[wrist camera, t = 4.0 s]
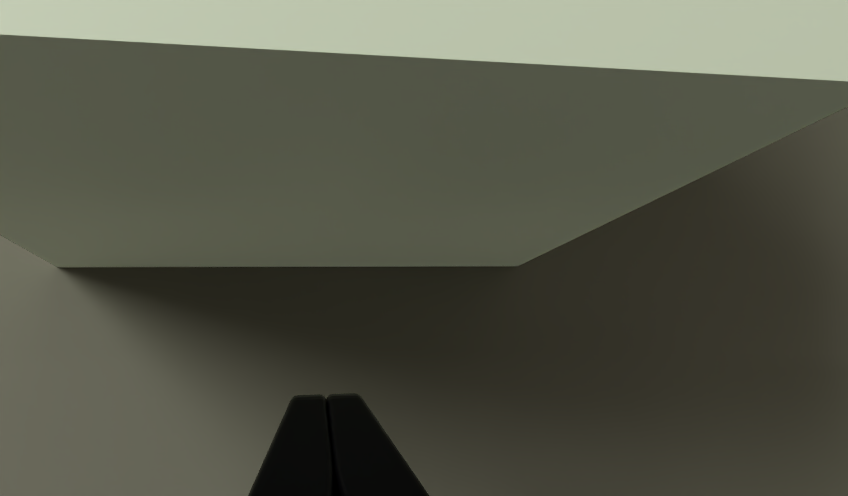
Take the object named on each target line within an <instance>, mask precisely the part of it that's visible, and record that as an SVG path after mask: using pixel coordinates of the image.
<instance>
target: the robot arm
mask: <svg viewBox="0 0 848 496" xmlns="http://www.w3.org/2000/svg"><path fill="white" fill-rule="evenodd" d="M248 496H429V495H428V493H427V492H426V490H425V489H424V487H423V486H422V484H421V483H420V481H419V480H418V479H417V477H416V476H415V474H414V473H413V471H412V470H411V468H410V467H409V465H408V464H407V463H406V461H405V460H404V458H403V457H402V455H401V454H400V452H399V451H398V450H397V448H396V447H395V445H394V444H393V442H392V441H391V439H390V438H389V436H388V435H387V434H386V432H385V431H384V429H383V428H382V426H381V425H380V423H379V422H378V421H377V419H376V418H375V416H374V415H373V413H372V412H371V410H370V409H369V407H368V406H367V405H366V403H365V402H364V400H363V399H362V398H361V396H360V395H358V394H355V393H349V394H331V395H329V396H328V397H327V398H325V397H324V396H323V395H297V396H294V397H293V398H292V399H291V401H290V403H289V405H288V408H287V410H286V412H285V414H284V417H283V419H282V421H281V423H280V426H279V428H278V430H277V432H276V434H275V437H274V439H273V441H272V443H271V446H270V448H269V450H268V452H267V455H266V457H265V459H264V461H263V464H262V466H261V468H260V470H259V473H258V475H257V477H256V479H255V482H254V484H253V486H252V488H251V491H250V493H249V495H248Z"/></svg>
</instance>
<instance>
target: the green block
mask: <svg viewBox="0 0 848 496" xmlns="http://www.w3.org/2000/svg"><path fill="white" fill-rule="evenodd" d="M846 107H848V0H0V235H1V236H3V237H5V238H6V239H8V240H10V241H12V242H13V243H15V244H17V245H19V246H20V247H22V248H24V249H26V250H28V251H29V252H31V253H33V254H35V255H36V256H38V257H40V258H42V259H43V260H45V261H47V262H49V263H50V264H52V265H54V266H56V267H406V266H519V265H521V264H524V263H526V262H528V261H530V260H532V259H534V258H536V257H538V256H540V255H542V254H544V253H546V252H548V251H550V250H552V249H555V248H557V247H559V246H561V245H563V244H565V243H567V242H569V241H571V240H573V239H575V238H577V237H579V236H581V235H583V234H586V233H588V232H590V231H592V230H594V229H596V228H598V227H600V226H602V225H604V224H606V223H608V222H610V221H612V220H614V219H617V218H619V217H621V216H623V215H625V214H627V213H629V212H631V211H633V210H635V209H637V208H639V207H641V206H643V205H645V204H648V203H650V202H652V201H654V200H656V199H658V198H660V197H662V196H664V195H666V194H668V193H670V192H672V191H674V190H676V189H679V188H681V187H683V186H685V185H687V184H689V183H691V182H693V181H695V180H697V179H699V178H701V177H703V176H705V175H707V174H710V173H712V172H714V171H716V170H718V169H720V168H722V167H724V166H726V165H728V164H730V163H732V162H734V161H736V160H738V159H741V158H743V157H745V156H747V155H749V154H751V153H753V152H755V151H757V150H759V149H761V148H763V147H765V146H767V145H769V144H772V143H774V142H776V141H778V140H780V139H782V138H784V137H786V136H788V135H790V134H792V133H794V132H796V131H798V130H800V129H803V128H805V127H807V126H809V125H811V124H813V123H815V122H817V121H819V120H821V119H823V118H825V117H827V116H829V115H831V114H834V113H836V112H838V111H840V110H842V109H844V108H846Z"/></svg>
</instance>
